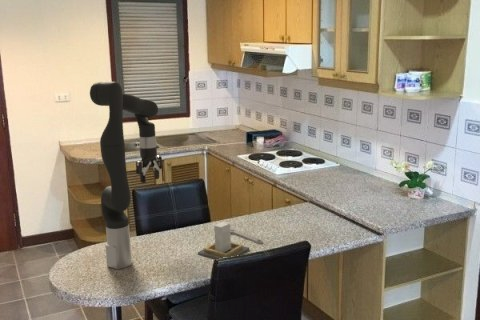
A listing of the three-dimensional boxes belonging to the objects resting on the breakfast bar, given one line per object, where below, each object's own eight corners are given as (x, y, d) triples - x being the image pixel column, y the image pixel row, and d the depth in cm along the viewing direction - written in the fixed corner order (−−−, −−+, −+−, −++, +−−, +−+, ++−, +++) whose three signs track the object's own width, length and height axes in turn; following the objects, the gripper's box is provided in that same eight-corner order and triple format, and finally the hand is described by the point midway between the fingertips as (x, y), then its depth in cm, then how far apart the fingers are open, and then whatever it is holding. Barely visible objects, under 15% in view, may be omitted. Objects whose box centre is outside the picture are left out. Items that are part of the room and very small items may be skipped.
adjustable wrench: (263, 243, 236) (263, 240, 235) (252, 247, 232) (252, 243, 231) (229, 228, 255) (229, 225, 254) (219, 231, 251) (219, 228, 250)
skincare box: (223, 247, 229) (222, 221, 226) (231, 249, 226) (230, 223, 224) (214, 251, 224) (213, 225, 221) (222, 253, 222) (221, 227, 219)
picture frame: (227, 262, 215) (227, 257, 215) (197, 254, 224) (197, 249, 223) (249, 249, 228) (249, 244, 227) (220, 242, 237) (219, 237, 236)
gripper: (142, 149, 225) (144, 185, 228) (165, 144, 236) (167, 178, 240) (130, 148, 229) (132, 183, 233) (153, 142, 240) (155, 176, 244)
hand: (150, 180), depth 236 cm, fingers open, 8 cm apart
